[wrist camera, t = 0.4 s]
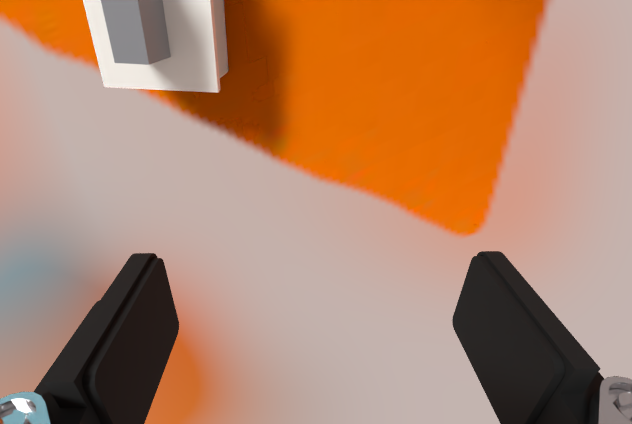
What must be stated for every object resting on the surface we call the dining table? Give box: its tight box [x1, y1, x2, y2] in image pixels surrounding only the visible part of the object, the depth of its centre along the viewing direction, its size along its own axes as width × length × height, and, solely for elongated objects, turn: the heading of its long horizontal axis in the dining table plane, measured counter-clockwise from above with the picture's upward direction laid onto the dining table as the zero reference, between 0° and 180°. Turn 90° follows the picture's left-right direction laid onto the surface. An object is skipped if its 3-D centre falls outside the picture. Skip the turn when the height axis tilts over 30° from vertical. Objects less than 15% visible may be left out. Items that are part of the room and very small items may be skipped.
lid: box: [83, 0, 220, 93], centre depth 24 cm, size 11×9×6 cm
